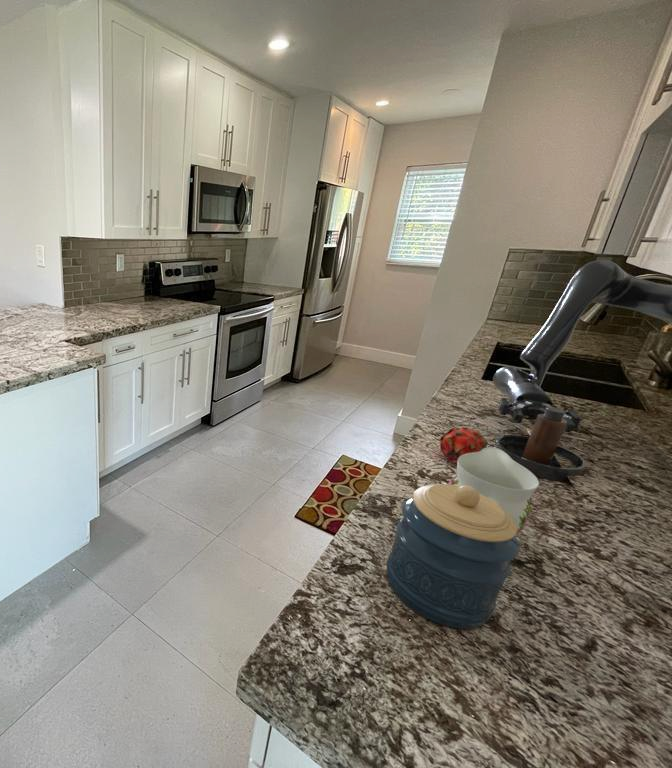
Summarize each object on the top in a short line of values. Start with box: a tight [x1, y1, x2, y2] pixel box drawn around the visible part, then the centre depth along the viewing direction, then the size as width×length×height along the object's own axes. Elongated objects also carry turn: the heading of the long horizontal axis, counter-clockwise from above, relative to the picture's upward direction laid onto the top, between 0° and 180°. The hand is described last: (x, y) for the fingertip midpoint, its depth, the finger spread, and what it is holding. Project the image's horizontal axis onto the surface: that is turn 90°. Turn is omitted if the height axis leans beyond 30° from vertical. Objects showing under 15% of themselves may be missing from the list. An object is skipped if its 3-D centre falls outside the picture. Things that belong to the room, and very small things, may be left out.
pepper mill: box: [522, 406, 567, 465], centre depth 90 cm, size 5×5×13 cm
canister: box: [386, 483, 520, 630], centre depth 56 cm, size 13×13×18 cm
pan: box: [493, 434, 588, 482], centre depth 92 cm, size 15×15×4 cm
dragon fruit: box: [438, 426, 489, 464], centre depth 92 cm, size 8×8×12 cm
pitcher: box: [447, 446, 540, 538], centre depth 67 cm, size 11×18×14 cm, turn 144°
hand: (544, 423), depth 92 cm, fingers open, 8 cm apart
